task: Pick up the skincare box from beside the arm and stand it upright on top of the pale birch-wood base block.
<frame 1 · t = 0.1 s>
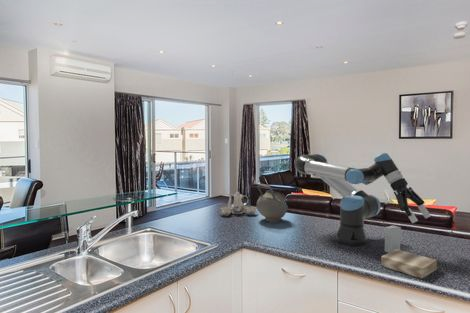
hand: (421, 219, 149), 15 cm above the worktop, tool tilted 35°, fingers open, 13 cm apart
skincare box: (392, 252, 149), on the worktop
chinaware: (238, 214, 228), on the worktop
pot: (271, 220, 208), on the worktop
base block: (408, 267, 130), on the worktop
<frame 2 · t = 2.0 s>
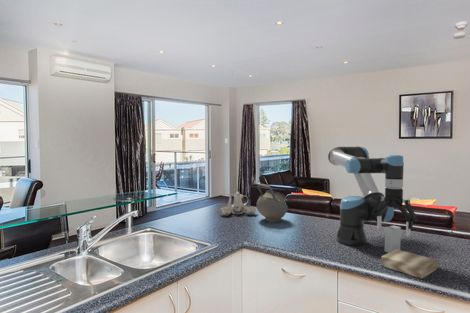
hand: (393, 232, 148), 10 cm above the worktop, tool pointing down, fingers open, 13 cm apart
nothing on the worktop moved.
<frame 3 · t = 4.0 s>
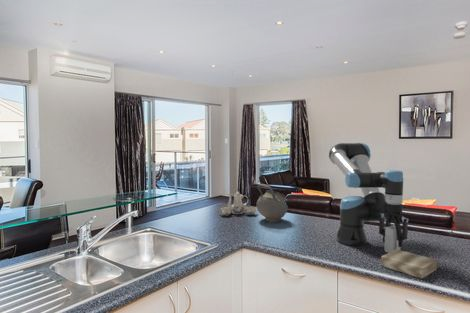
hand: (392, 251, 149), 0 cm above the worktop, tool pointing down, fingers closed on skincare box, 5 cm apart
skincare box: (392, 252, 149), on the worktop, touching gripper
everything else where it was.
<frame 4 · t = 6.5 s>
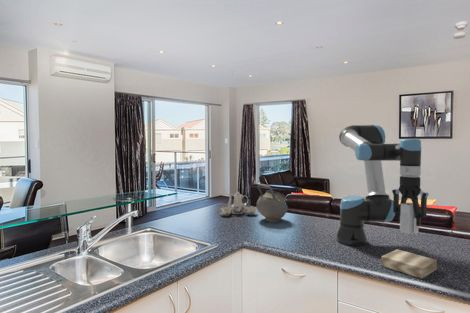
hand: (409, 231, 130), 15 cm above the worktop, tool pointing down, fingers closed on skincare box, 5 cm apart
skincare box: (409, 232, 130), point 15 cm above the worktop, touching gripper
everything else where it was.
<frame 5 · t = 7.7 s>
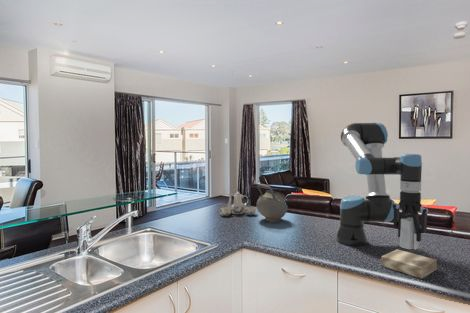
hand: (409, 246, 130), 9 cm above the worktop, tool pointing down, fingers closed on skincare box, 5 cm apart
skincare box: (409, 247, 130), point 8 cm above the worktop, touching gripper
everything else where it was.
when the fingers open (6 cm above the worktop, at t = 8.9 s): skincare box drops 1 cm, resting on base block.
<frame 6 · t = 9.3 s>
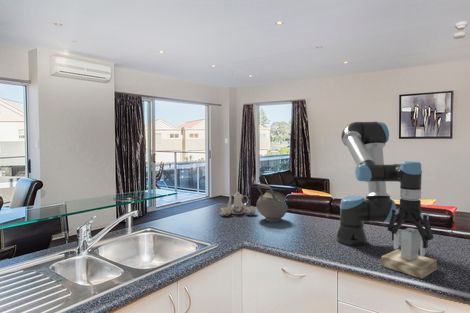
hand: (408, 251, 130), 7 cm above the worktop, tool pointing down, fingers open, 10 cm apart
skincare box: (409, 258, 130), point 4 cm above the worktop, touching base block
everything else where it was.
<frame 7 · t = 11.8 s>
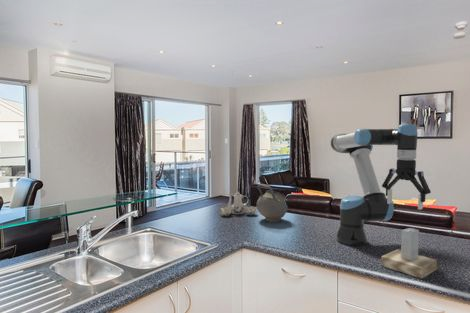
hand: (404, 206, 141), 23 cm above the worktop, tool pointing down, fingers open, 13 cm apart
nothing on the worktop moved.
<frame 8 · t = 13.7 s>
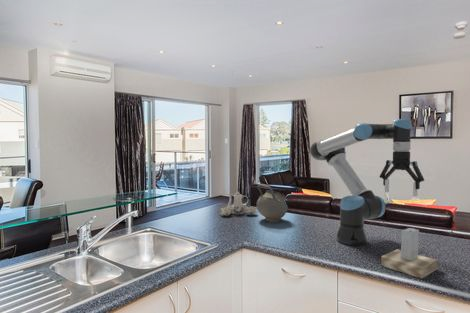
hand: (400, 194, 153), 27 cm above the worktop, tool pointing down, fingers open, 13 cm apart
nothing on the worktop moved.
at the end: skincare box inside the target area on the base block (0.3 cm from its centre), point 3.8 cm above the base block's base; skincare box tilted 0°; skincare box touching base block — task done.
